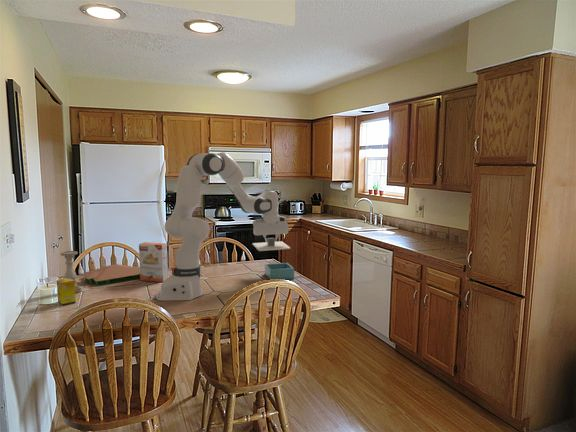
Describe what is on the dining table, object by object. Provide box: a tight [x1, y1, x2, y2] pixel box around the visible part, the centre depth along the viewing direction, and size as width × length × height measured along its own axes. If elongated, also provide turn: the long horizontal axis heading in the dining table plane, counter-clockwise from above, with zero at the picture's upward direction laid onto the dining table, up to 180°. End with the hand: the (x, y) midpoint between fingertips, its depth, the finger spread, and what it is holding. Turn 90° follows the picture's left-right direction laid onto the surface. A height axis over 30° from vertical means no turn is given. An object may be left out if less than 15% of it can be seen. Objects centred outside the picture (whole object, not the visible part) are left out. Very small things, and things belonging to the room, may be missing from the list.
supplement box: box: [56, 278, 76, 307], centre depth 190 cm, size 6×6×11 cm
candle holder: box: [60, 250, 82, 294], centre depth 206 cm, size 9×9×20 cm
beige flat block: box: [82, 263, 140, 287], centre depth 234 cm, size 23×33×8 cm
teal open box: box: [264, 262, 295, 280], centre depth 239 cm, size 14×14×6 cm
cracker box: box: [138, 241, 169, 283], centre depth 228 cm, size 14×6×21 cm, turn 78°
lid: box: [252, 237, 291, 252], centre depth 236 cm, size 18×18×5 cm
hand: (271, 242), depth 236 cm, fingers closed on lid, 3 cm apart
